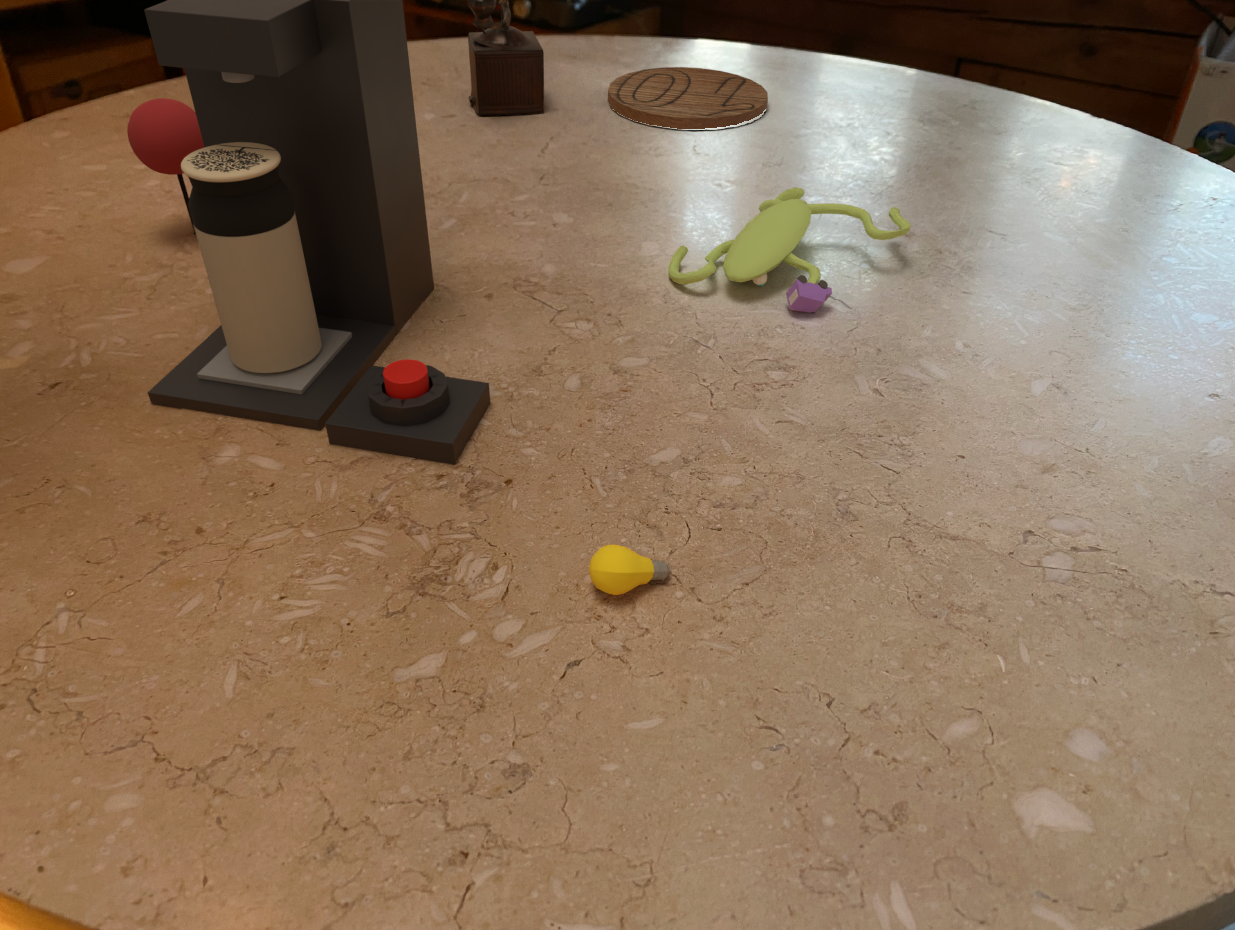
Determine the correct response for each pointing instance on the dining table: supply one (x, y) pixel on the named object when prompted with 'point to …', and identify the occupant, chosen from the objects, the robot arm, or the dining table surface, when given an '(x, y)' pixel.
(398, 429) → the panel
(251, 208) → the travel mug
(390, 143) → the coffee maker
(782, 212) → the figurine
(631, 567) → the light bulb
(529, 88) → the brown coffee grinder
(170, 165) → the lollipop
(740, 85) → the trivet
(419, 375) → the button
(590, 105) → the dining table surface
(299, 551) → the dining table surface
